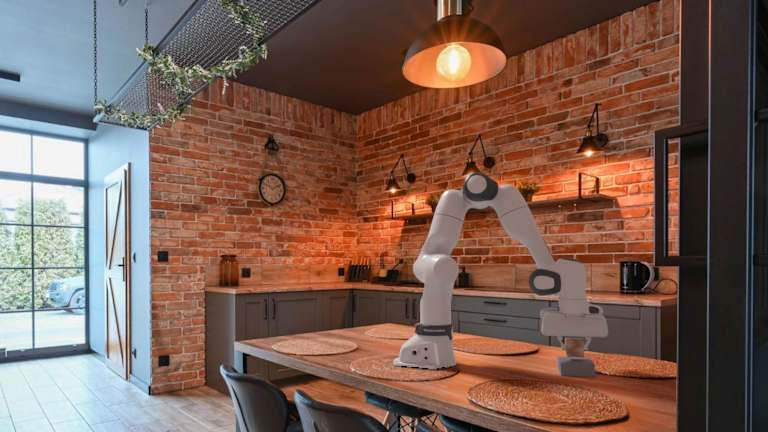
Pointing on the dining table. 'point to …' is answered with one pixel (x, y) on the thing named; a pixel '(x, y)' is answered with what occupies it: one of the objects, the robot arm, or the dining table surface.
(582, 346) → the cube
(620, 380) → the dining table surface
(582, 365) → the base block
